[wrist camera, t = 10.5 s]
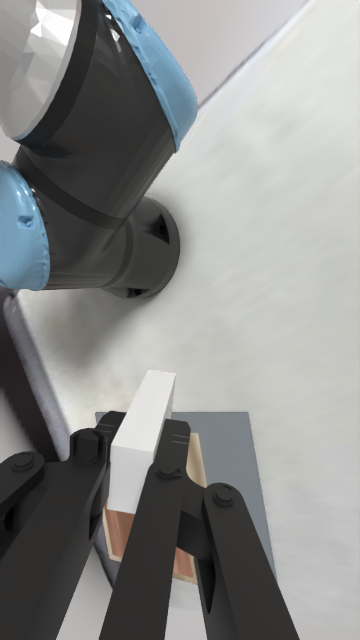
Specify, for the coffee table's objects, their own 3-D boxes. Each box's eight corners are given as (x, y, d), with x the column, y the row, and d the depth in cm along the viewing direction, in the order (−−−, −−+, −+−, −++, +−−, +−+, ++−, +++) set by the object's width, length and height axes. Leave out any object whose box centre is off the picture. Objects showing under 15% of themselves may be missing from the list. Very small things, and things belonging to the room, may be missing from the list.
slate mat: (248, 412, 44) (247, 413, 44) (277, 585, 44) (277, 587, 44) (96, 412, 58) (94, 413, 58) (120, 543, 58) (118, 545, 58)
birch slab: (176, 452, 42) (88, 446, 50) (200, 587, 43) (108, 559, 51) (197, 433, 48) (114, 430, 56) (218, 552, 48) (133, 533, 56)
